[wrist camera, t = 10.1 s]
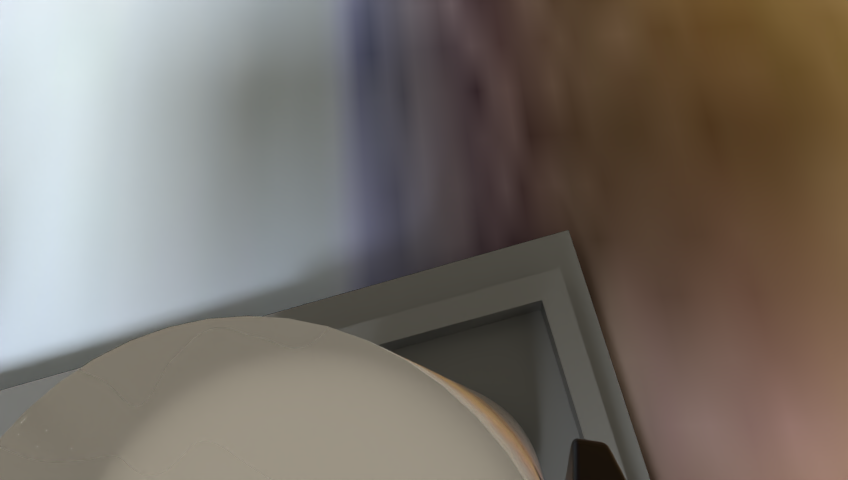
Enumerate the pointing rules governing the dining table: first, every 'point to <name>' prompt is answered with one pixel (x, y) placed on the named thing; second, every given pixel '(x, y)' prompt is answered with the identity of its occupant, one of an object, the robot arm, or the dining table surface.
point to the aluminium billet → (262, 413)
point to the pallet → (484, 345)
